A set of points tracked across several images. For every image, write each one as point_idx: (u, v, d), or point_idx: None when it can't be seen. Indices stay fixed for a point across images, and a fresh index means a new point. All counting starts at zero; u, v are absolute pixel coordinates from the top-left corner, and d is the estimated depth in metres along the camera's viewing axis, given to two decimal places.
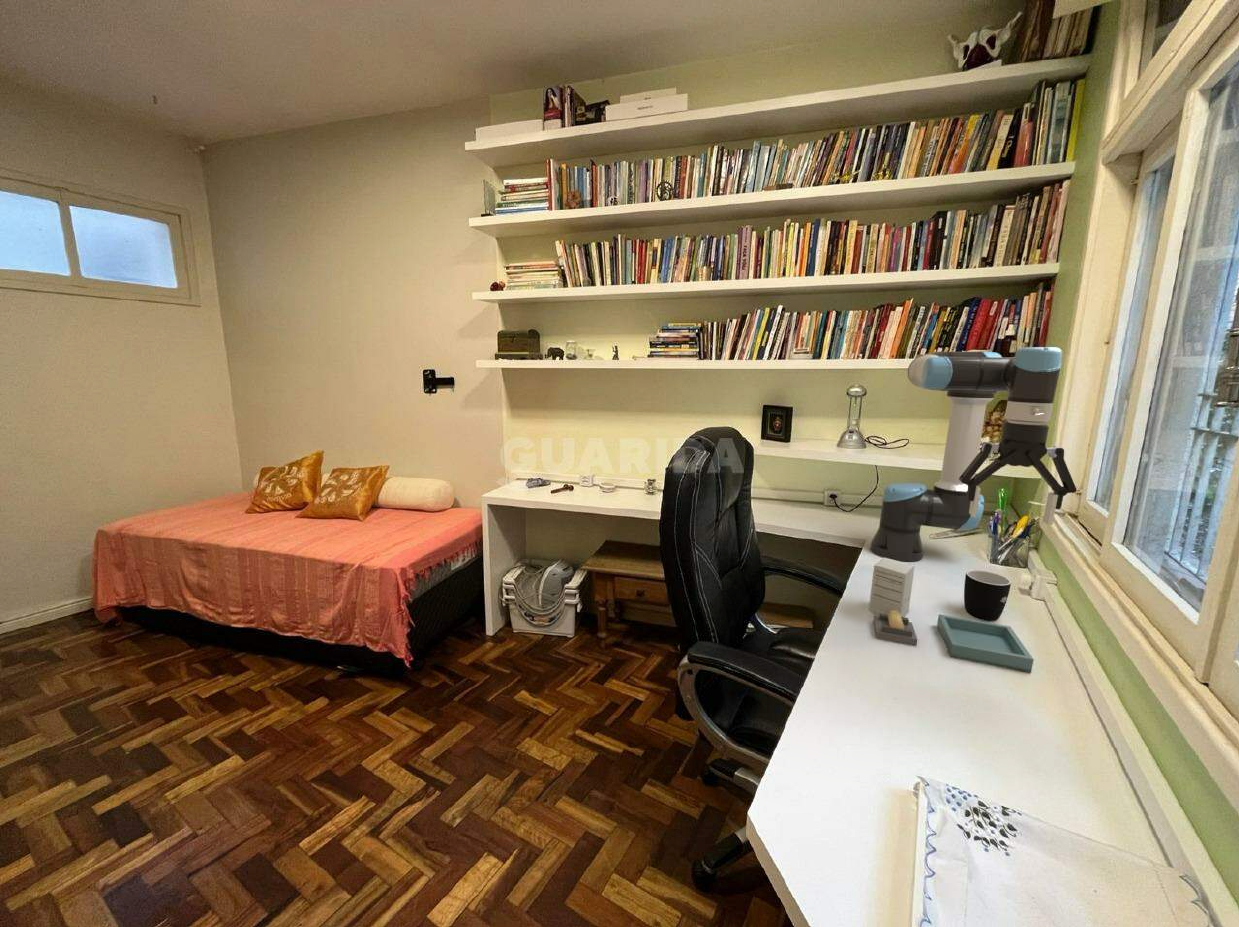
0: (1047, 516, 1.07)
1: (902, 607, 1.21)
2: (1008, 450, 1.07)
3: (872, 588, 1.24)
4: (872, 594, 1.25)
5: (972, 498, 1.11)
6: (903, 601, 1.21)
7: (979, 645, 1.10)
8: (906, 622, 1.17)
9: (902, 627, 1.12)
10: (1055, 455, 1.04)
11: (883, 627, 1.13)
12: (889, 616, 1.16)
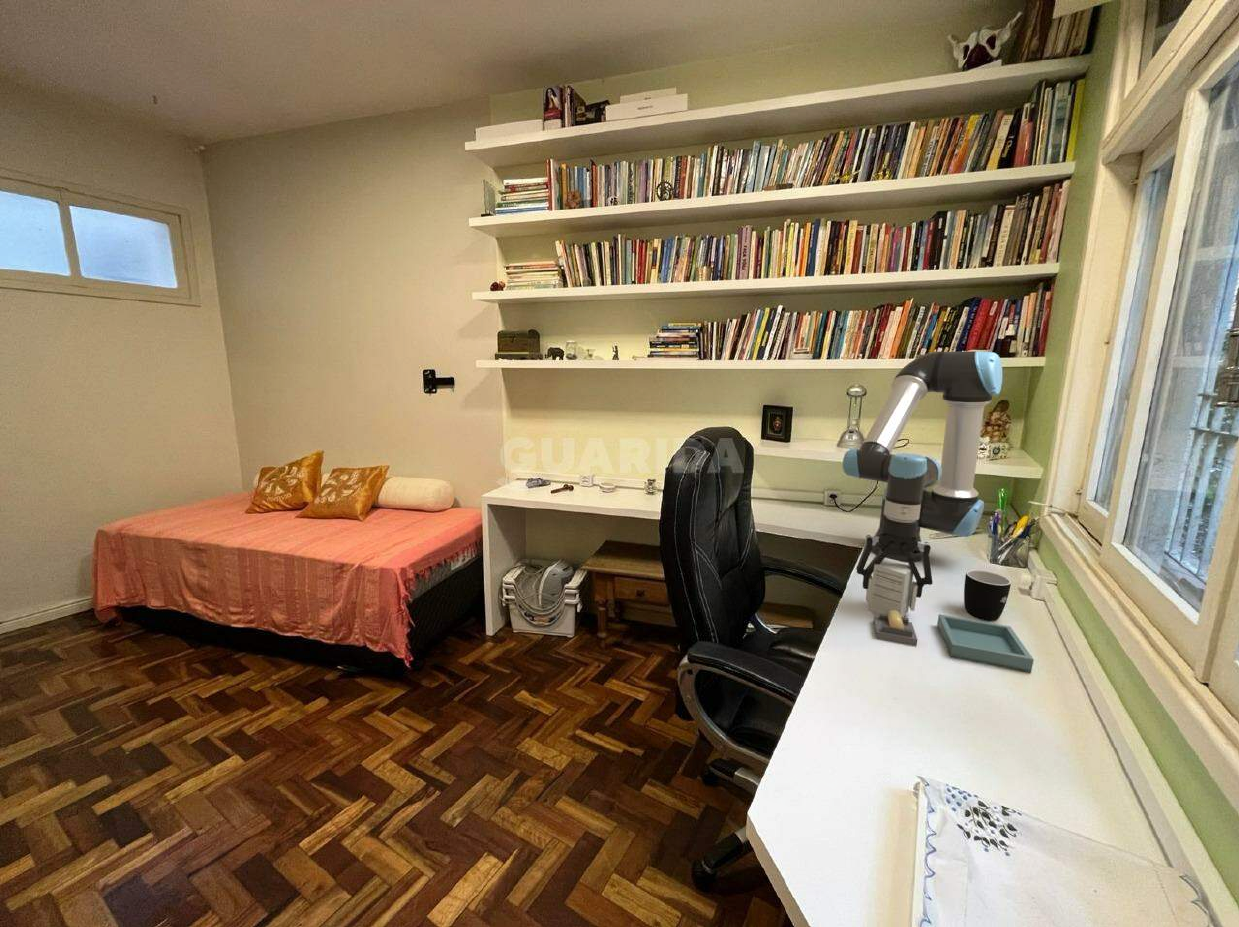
0: (911, 603, 1.23)
1: (902, 607, 1.21)
2: (886, 541, 1.22)
3: (872, 588, 1.24)
4: (872, 594, 1.25)
5: (866, 587, 1.26)
6: (903, 601, 1.21)
7: (979, 645, 1.10)
8: (906, 622, 1.17)
9: (902, 627, 1.12)
10: (923, 550, 1.19)
11: (883, 627, 1.13)
12: (889, 616, 1.16)
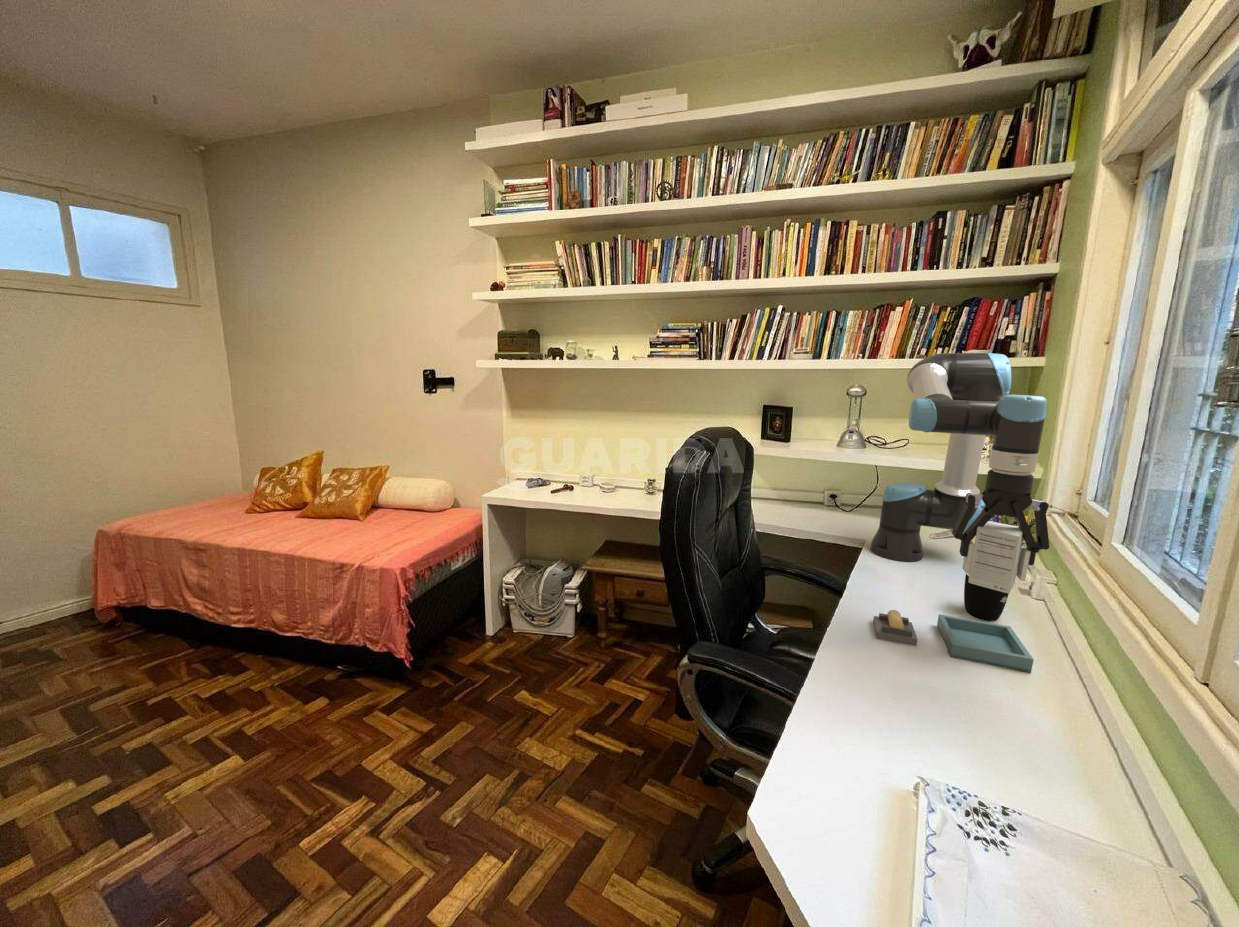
0: (1020, 572, 1.05)
1: (1012, 576, 1.03)
2: (993, 499, 1.04)
3: (974, 555, 1.06)
4: (973, 562, 1.06)
5: (965, 554, 1.08)
6: (1014, 569, 1.02)
7: (979, 645, 1.10)
8: (906, 622, 1.17)
9: (902, 627, 1.12)
10: (1038, 508, 1.01)
11: (883, 627, 1.13)
12: (889, 616, 1.16)
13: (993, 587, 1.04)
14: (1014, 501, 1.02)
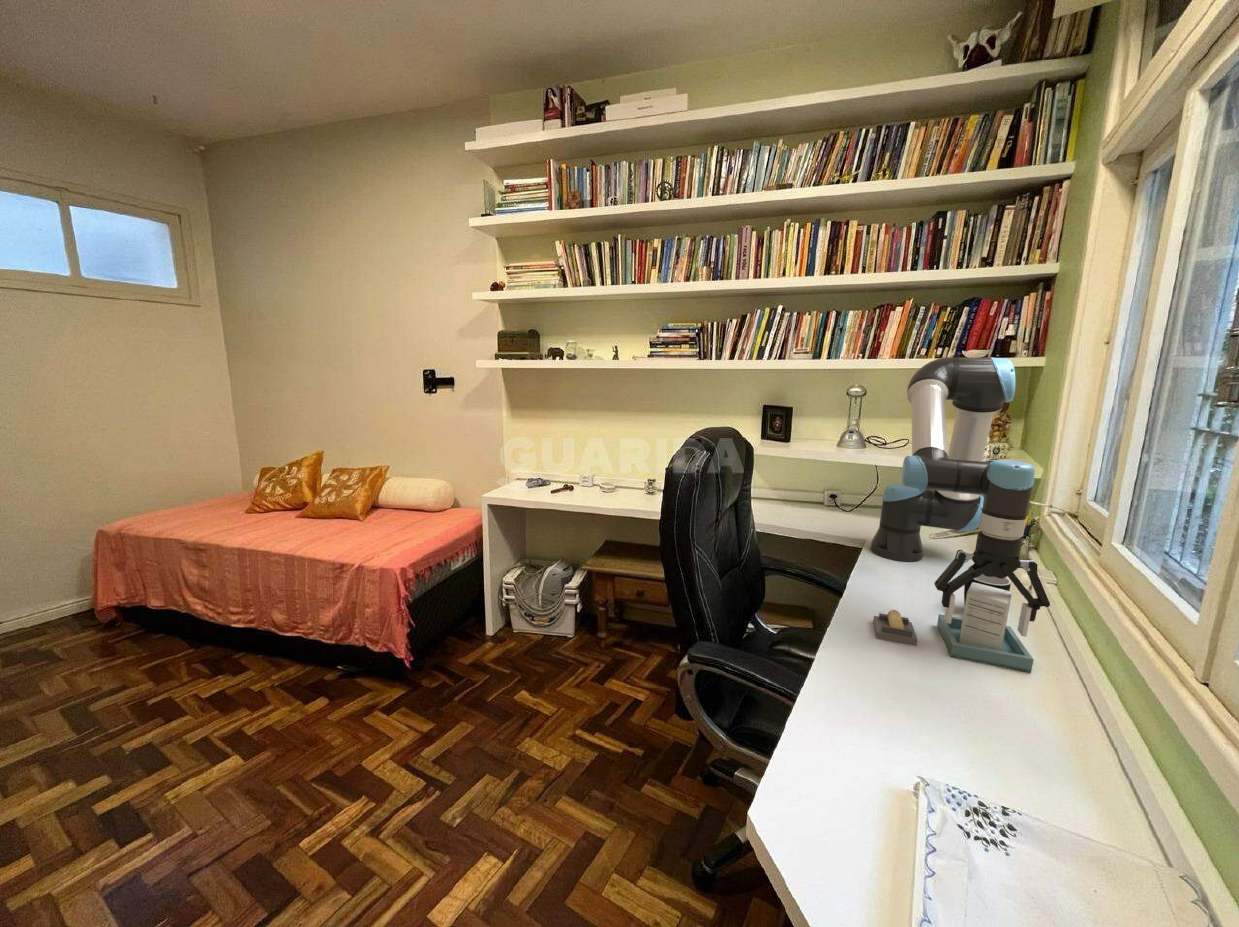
0: (1021, 627, 1.07)
1: (1001, 641, 1.06)
2: (982, 561, 1.07)
3: (964, 618, 1.09)
4: (963, 625, 1.09)
5: (947, 605, 1.11)
6: (1003, 634, 1.05)
7: None
8: (906, 622, 1.17)
9: (902, 627, 1.12)
10: (1028, 569, 1.04)
11: (883, 627, 1.13)
12: (889, 616, 1.16)
13: None
14: (1002, 564, 1.05)
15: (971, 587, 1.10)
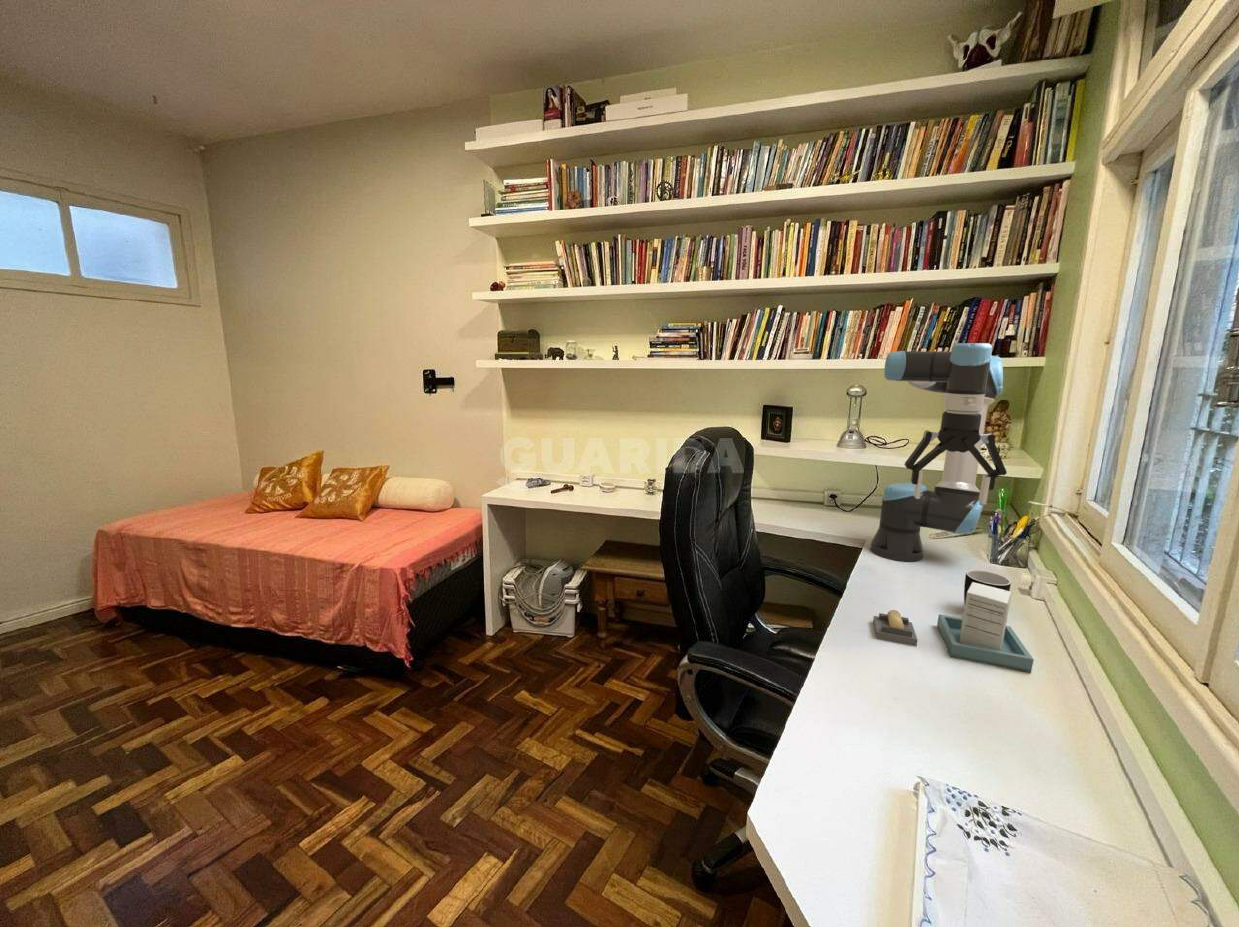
0: (982, 496, 1.18)
1: (1001, 641, 1.06)
2: (946, 437, 1.17)
3: (964, 618, 1.09)
4: (963, 625, 1.09)
5: (916, 482, 1.22)
6: (1003, 634, 1.05)
7: None
8: (906, 622, 1.17)
9: (902, 627, 1.12)
10: (987, 441, 1.14)
11: (883, 627, 1.13)
12: (889, 616, 1.16)
13: None
14: (964, 438, 1.16)
15: (971, 587, 1.10)
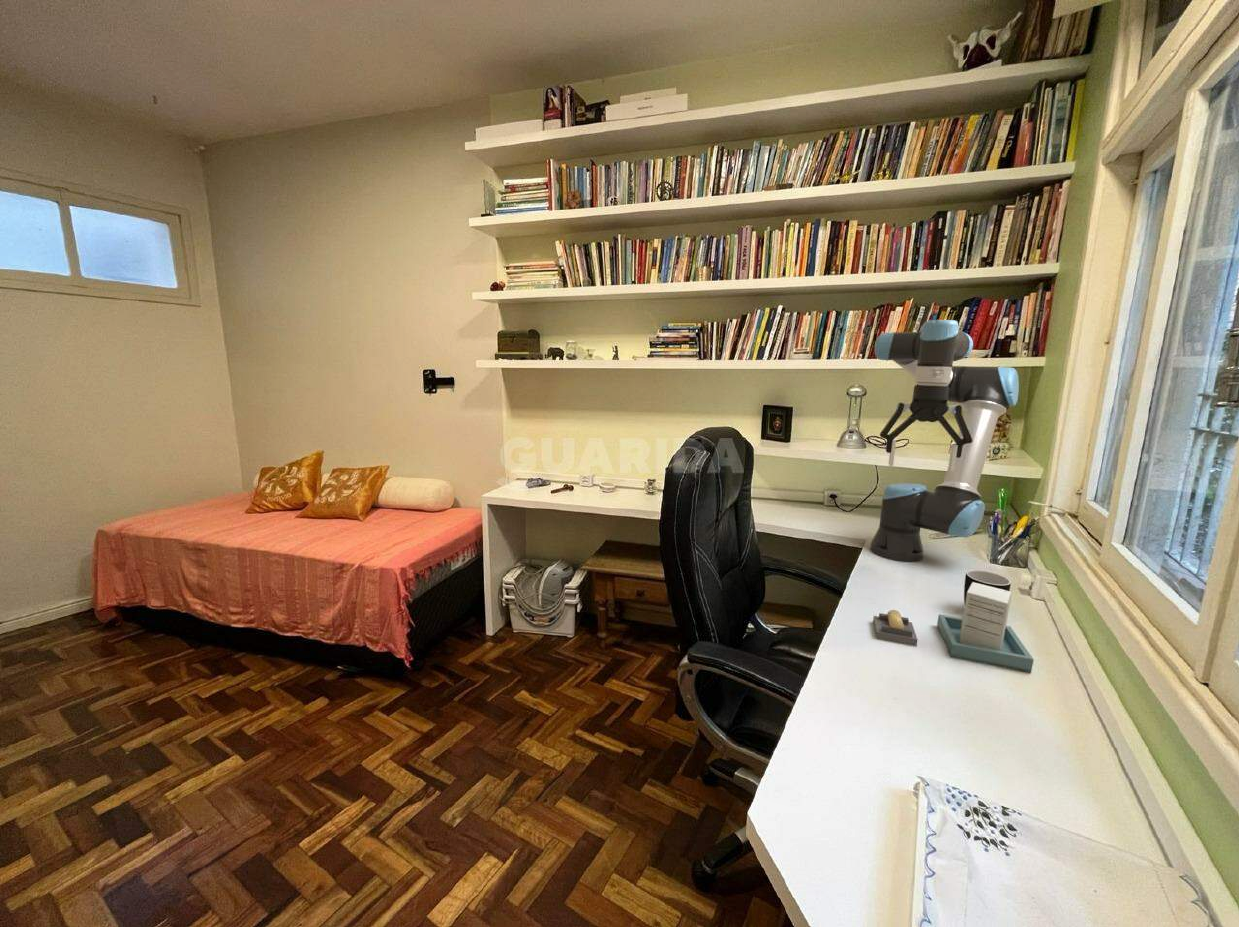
0: (950, 464, 1.27)
1: (1001, 641, 1.06)
2: (917, 408, 1.27)
3: (964, 618, 1.09)
4: (963, 625, 1.09)
5: (890, 450, 1.31)
6: (1003, 634, 1.05)
7: None
8: (906, 622, 1.17)
9: (902, 627, 1.12)
10: (955, 411, 1.24)
11: (883, 627, 1.13)
12: (889, 616, 1.16)
13: None
14: (933, 408, 1.25)
15: (971, 587, 1.10)
